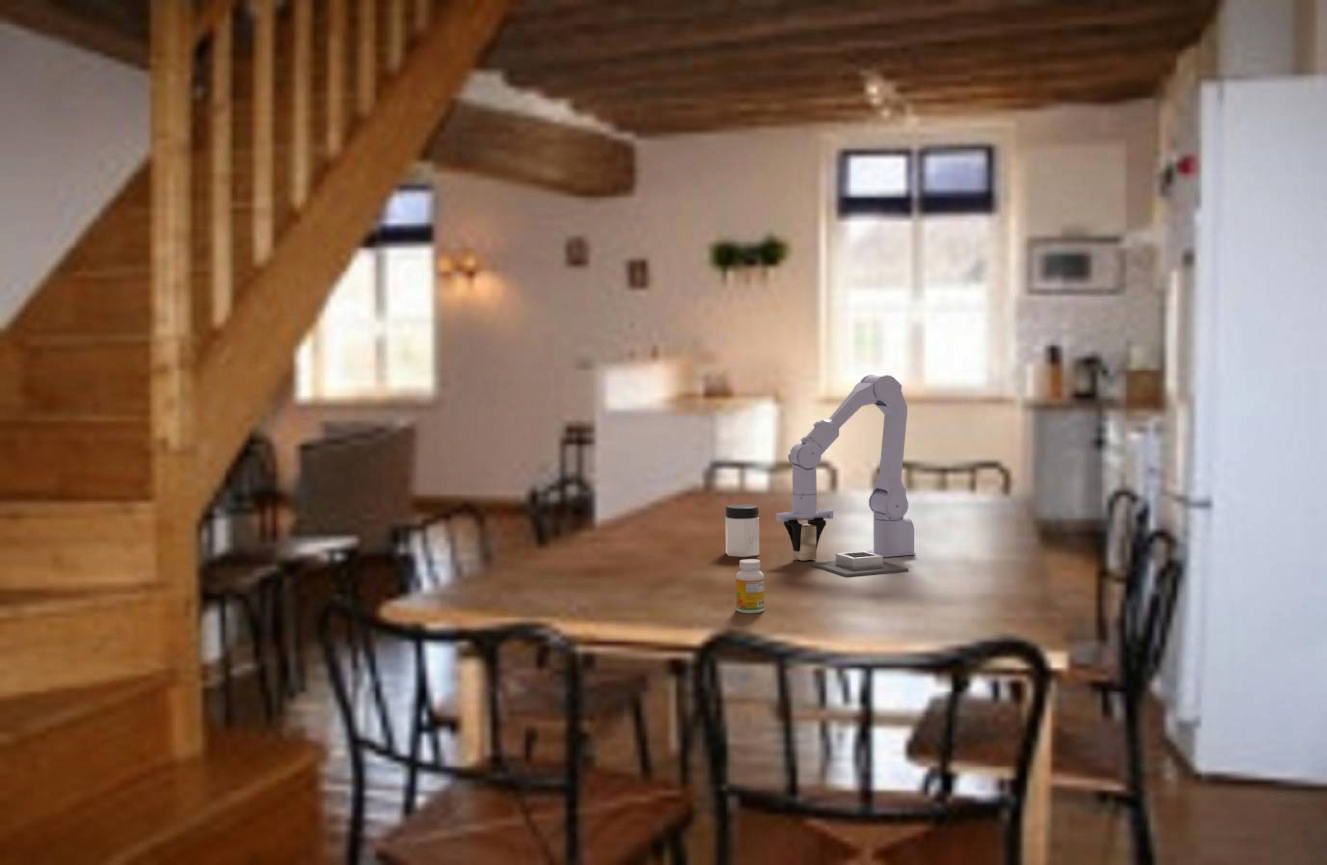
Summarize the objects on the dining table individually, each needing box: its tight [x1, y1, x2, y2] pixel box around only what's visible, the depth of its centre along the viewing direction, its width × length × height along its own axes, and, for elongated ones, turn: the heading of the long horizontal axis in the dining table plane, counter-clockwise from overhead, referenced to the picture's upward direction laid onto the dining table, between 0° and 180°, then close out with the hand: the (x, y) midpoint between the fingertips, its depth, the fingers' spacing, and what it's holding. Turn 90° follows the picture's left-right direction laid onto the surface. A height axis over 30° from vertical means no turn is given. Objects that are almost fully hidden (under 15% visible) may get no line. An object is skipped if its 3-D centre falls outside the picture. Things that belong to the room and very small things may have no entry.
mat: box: [811, 560, 909, 578], centre depth 268 cm, size 16×16×1 cm
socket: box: [835, 550, 884, 570], centre depth 268 cm, size 8×8×2 cm
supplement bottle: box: [735, 558, 765, 614], centre depth 225 cm, size 5×5×10 cm
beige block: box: [793, 523, 817, 561], centre depth 279 cm, size 4×4×8 cm
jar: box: [724, 503, 760, 558], centre depth 289 cm, size 9×8×12 cm
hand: (805, 550), depth 280 cm, fingers closed on beige block, 4 cm apart
